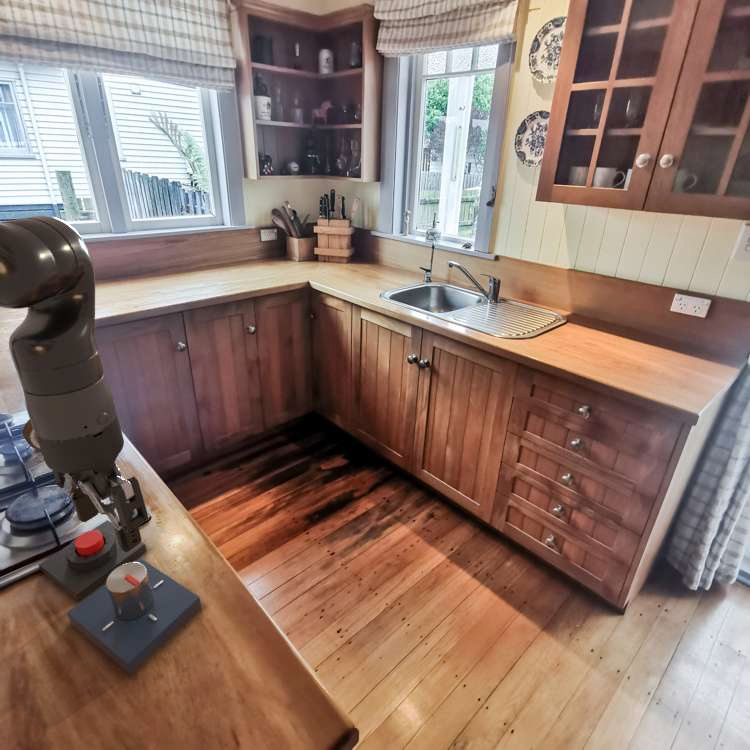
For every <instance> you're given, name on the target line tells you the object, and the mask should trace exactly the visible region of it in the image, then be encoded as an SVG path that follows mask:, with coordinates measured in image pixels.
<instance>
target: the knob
mask: <svg viewBox="0 0 750 750" xmlns="http://www.w3.org/2000/svg"><path fill="white" fill-rule="evenodd" d="M105 584H106V586H107V590H108V593H109V596H110V599H111V602H112V605H113V608H114V611H115V614H116V616H117V617H118V618H120V619H122V620H132V619H136V618H138V617H140V616H142V615H143V614H145V613H146V612H147V611H148V610H149V609H150V607H151V606H152V604H153V600H154V597H153V593H152V589H151V585H150V582H149V578H148V574H147V570H146V567H145V566H144V565H143V564H141V563H138V562H136V561H133V562H130V563H126V564H123V565H121V566H119V567H117V568H116V569H115V570H113V571H112V572H111V573H110V575H109V576H108V578H107V581H106V582H105Z"/></svg>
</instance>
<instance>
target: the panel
mask: <svg viewBox="0 0 750 750" xmlns="http://www.w3.org/2000/svg"><path fill="white" fill-rule="evenodd" d="M135 562H138V563H141V564H143V565H144V566H145V567H146V570H147V574H148V578H149V582H150V585H151V589H152V593H153V597H154V600H153V604H152V606H151V607H150V609H149V610H148V611H147V612H146V613H145V614H143V615H142V616H140V617H138V618H136V619H132V620H122V619H120V618H118V617H117V616H116V614H115V611H114V608H113V605H112V602H111V599H110V596H109V593H108V590H107V586H106V583H104V585H101V586H100V587H99V589H98V588H97V589H96V590H95V591H93V592H92V593H91V594H89V595H88V596H87V597H85V598H84V599H83V600H82V601H80V603H78V605H76V606H74V607H72V609H71V610H69V611H68V612H67V613H66V614H67V616H68V620H69V622H70V624H71V626H72V627H74V628H75V629H76V630H77V631H79V632H80V633H81V634H82V635H83V636H85V638H87V639H88V640H89V641H90V642H92V644H93V645H95V646H96V647H98V648H99V649H100V650H101V651H102V652H103V653H104V654H106V655H107V656H108V657H109V658H110V659H111V660H113V661H114V662H115V663H116V664H118V665H119V666H120V667H121V668H122V669H123V670H124V671H126V672H127V673H128V674H129V675H130V676H132V675H133V674H134V673H136V672H137V670H138V669H139V668H140V667H142V666H143V665H144V664H145V663H146V662H147V661H148V660H149V659H150V658H151V657H152V656H153V655H154V654H155V653H156V652H157V651H159V649H161V648H162V647H163V646H164V645H165V644H166V643H167V642H168V641H169V640H170V639H171V638H172V637H173V636H174V635H175V634H177V632H179V630H180V629H182V627H184V625H186V624H187V623H188V622H189V621H190V620H191V619H192V618H193V617H195V615H196V614H197V613H198V612H199V611H200V610H201V609H202V602H201V597H200V596H199V595H197V594H196V593H194V592H193V591H191V590H190V589H188V588H187V587H185V586H184V585H182V584H181V583H179V582H177V581H176V580H174V579H173V578H172V577H171V576H168V574H165V573H164V572H163V571H161V570H160V569H158V568H157V567H155V566H154V565H152V564H151V563H150V562H147V561H146V560H144V559H143V558H142V557H139V558H137V559H136V560H135Z"/></svg>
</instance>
